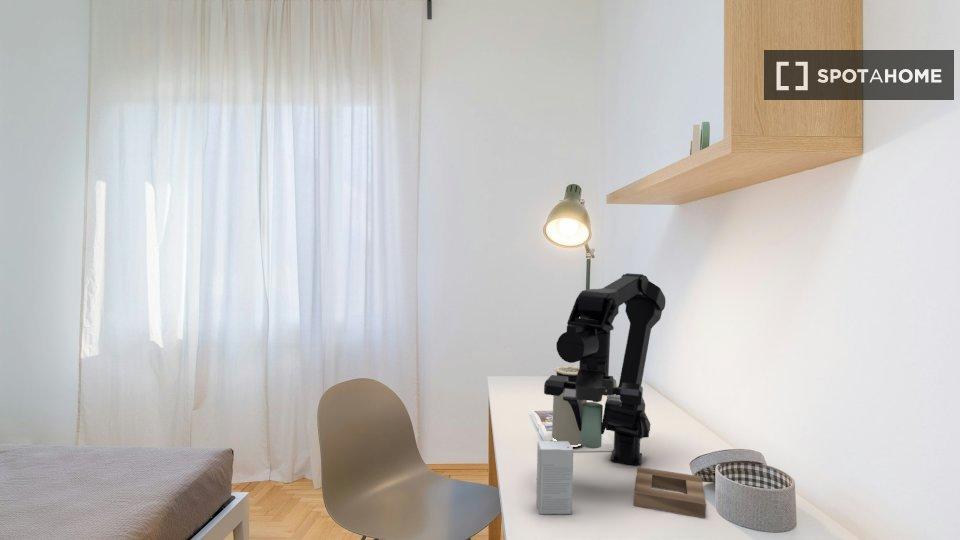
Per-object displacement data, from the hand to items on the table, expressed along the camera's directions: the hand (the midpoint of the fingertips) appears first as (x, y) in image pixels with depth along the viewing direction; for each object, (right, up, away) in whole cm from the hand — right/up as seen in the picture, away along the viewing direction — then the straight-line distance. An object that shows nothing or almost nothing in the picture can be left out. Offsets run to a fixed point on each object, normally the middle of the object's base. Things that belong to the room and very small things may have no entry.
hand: (591, 432), depth 109 cm
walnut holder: (+14, -12, -3) cm, 19 cm away
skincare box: (-9, -12, -9) cm, 17 cm away
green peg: (0, -3, 0) cm, 2 cm away
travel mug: (-1, -10, +24) cm, 26 cm away
